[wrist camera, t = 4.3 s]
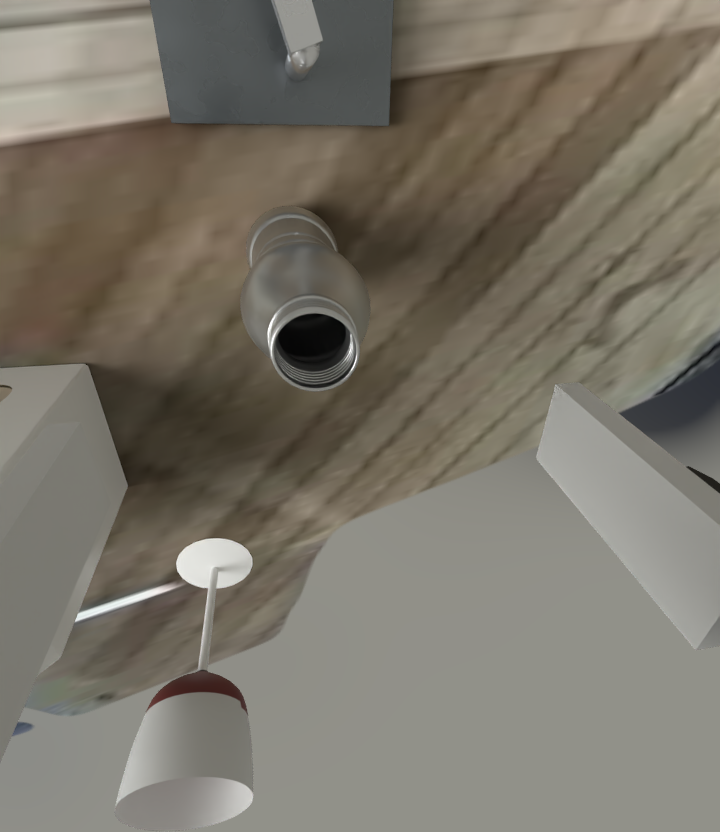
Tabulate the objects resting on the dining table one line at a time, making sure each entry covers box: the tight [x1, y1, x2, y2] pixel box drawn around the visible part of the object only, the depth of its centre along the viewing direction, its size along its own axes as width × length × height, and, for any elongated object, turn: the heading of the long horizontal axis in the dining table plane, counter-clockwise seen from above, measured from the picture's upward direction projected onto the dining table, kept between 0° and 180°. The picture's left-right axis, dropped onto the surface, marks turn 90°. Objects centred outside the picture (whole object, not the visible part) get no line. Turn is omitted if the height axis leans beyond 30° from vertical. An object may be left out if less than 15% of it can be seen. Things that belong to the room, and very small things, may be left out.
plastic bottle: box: [240, 206, 370, 392], centre depth 27 cm, size 6×7×20 cm
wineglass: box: [115, 538, 253, 831], centre depth 42 cm, size 9×10×22 cm
